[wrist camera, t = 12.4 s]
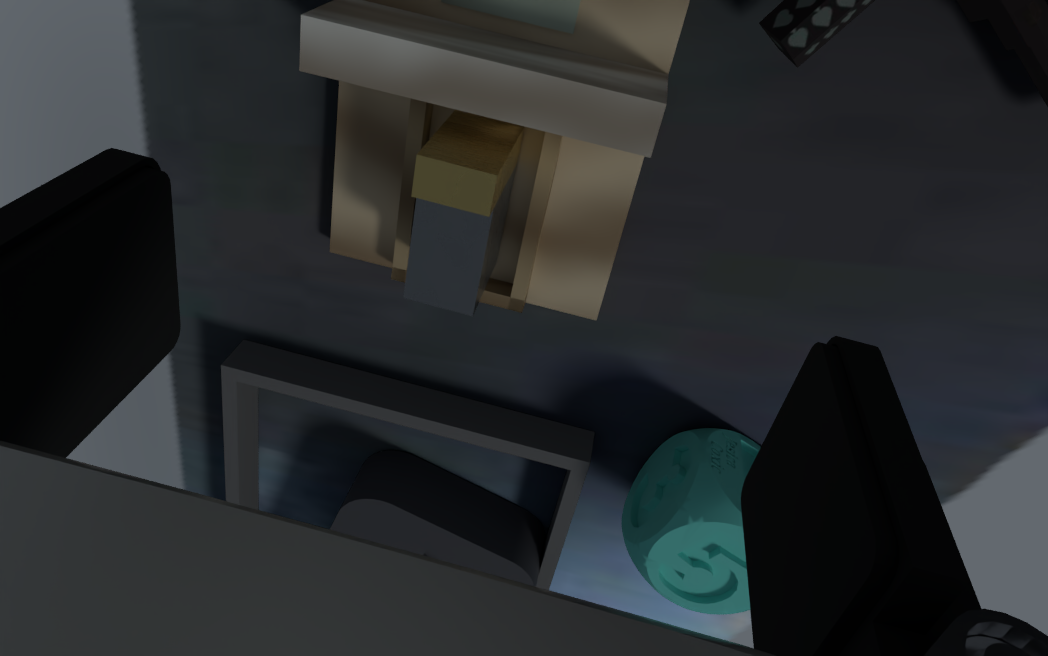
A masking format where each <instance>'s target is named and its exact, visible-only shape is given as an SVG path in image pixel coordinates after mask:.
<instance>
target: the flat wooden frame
mask: <svg viewBox="0 0 1048 656" xmlns="http://www.w3.org/2000/svg"><path fill="white" fill-rule="evenodd" d="M689 1H690V0H333V1H331V2H328V3H326V4H324V5H322V6H319V7H317V8H315V9H313V10H310V11H308V12H306V13H304V14H301V35H300V71H302V72H307V73H311V74H315V75H319V76H323V77H327V78H331V79H335V80H339V94H338V112H337V130H336V148H335V166H334V184H333V202H332V220H331V238H330V252H332V253H336V254H340V255H344V256H348V257H351V258H355V259H359V260H363V261H367V262H371V263H375V264H379V265H383V266H386V267H390V268H392V275H391V279H393V280H397V281H401V282H405V281H406V273H407V266H408V258H409V250H410V243H411V235H412V228H413V220H414V212H415V205H416V198H415V197H411V195H412V187H413V179H414V171H415V163H416V156H417V153H418V152H419V151H420V150H421V149H422V148H423V146H424V145H425V144H426V143H427V142H428V141H429V139H430V138H431V137H432V136H433V135H434V134H435V132H436V131H437V130H438V129H439V128H440V127H441V125H442V124H443V123H444V122H445V121H446V120H447V118H448V117H449V116H450V115H451V114H452V113H453V111H454V110H455V109H456V110H460V111H464V112H468V113H472V114H476V115H480V116H484V117H488V118H492V119H496V120H500V121H504V122H508V123H512V124H516V125H520V126H525V128H524V133H523V138H522V143H521V147H520V152H519V157H518V162H517V167H516V172H515V176H514V181H513V186H512V191H511V196H510V201H509V206H508V210H507V215H506V220H505V225H504V230H503V235H502V240H501V244H500V249H499V254H498V259H497V263H496V265H495V267H494V270H493V272H492V274H491V276H490V279H489V281H488V283H487V285H486V288H485V290H484V292H483V294H482V297H481V299H480V301H479V302H482V303H486V304H490V305H494V306H498V307H502V308H506V309H509V310H513V311H517V312H521V313H522V310H523V307H524V305H525V302H526V303H530V304H534V305H538V306H542V307H546V308H550V309H553V310H557V311H561V312H565V313H569V314H573V315H577V316H581V317H585V318H588V319H592V320H597V317H598V313H599V310H600V306H601V303H602V299H603V296H604V293H605V289H606V286H607V282H608V279H609V275H610V272H611V269H612V265H613V262H614V258H615V255H616V251H617V248H618V245H619V241H620V238H621V234H622V231H623V227H624V224H625V221H626V217H627V214H628V210H629V207H630V203H631V200H632V197H633V193H634V190H635V186H636V183H637V180H638V176H639V173H640V169H641V166H642V162H643V159H644V156H646V157H650V158H651V154H652V151H653V148H654V144H655V141H656V138H657V134H658V131H659V128H660V124H661V121H662V117H663V114H664V111H665V107H666V104H667V87H668V73H669V70H670V66H671V63H672V60H673V56H674V53H675V49H676V46H677V42H678V39H679V36H680V32H681V29H682V25H683V22H684V19H685V15H686V12H687V8H688V5H689Z"/></svg>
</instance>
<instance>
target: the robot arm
mask: <svg viewBox="0 0 1048 656" xmlns="http://www.w3.org/2000/svg"><path fill="white" fill-rule="evenodd" d="M179 334H180V311H179V297H178V282H177V268H176V254H175V239H174V225H173V211H172V197H171V184H170V179H169V177H168V175H167V174H166V173H165V172H163V171H161V170H160V167H159V165H158V163H157V162H156V161H155V160H154V159H153V158H149V157H145V156H142V155H138V154H134V153H130V152H126V151H122V150H118V149H113V148H111V149H107V150H105V151H103V152H101V153H99V154H98V155H96V156H94V157H92V158H90V159H89V160H87V161H85V162H83V163H81V164H80V165H78V166H76V167H74V168H72V169H70V170H69V171H67V172H65V173H63V174H61V175H60V176H58V177H56V178H54V179H52V180H51V181H49V182H47V183H45V184H43V185H41V186H40V187H38V188H36V189H34V190H32V191H31V192H29V193H27V194H25V195H24V196H22V197H20V198H18V199H16V200H14V201H12V202H11V203H9V204H7V205H5V206H3V207H2V208H0V656H1048V636H1047V635H1045V634H1044V633H1042V632H1041V631H1039V630H1037V629H1036V628H1034V627H1033V626H1031V625H1030V624H1028V623H1026V622H1024V621H1022V620H1020V619H1017V618H1015V617H1012V616H1010V615H1008V614H1006V613H1002V612H997V611H993V610H987V609H981V607H980V604H979V602H978V599H977V597H976V594H975V591H974V589H973V586H972V584H971V581H970V578H969V576H968V573H967V571H966V568H965V566H964V563H963V560H962V558H961V556H960V553H959V550H958V548H957V546H956V543H955V540H954V538H953V535H952V532H951V530H950V527H949V524H948V522H947V519H946V517H945V514H944V512H943V509H942V506H941V504H940V501H939V499H938V496H937V494H936V491H935V488H934V486H933V483H932V481H931V478H930V476H929V473H928V470H927V468H926V465H925V463H924V462H923V460H922V457H921V455H920V452H919V450H918V447H917V444H916V442H915V439H914V437H913V434H912V431H911V429H910V426H909V424H908V421H907V419H906V416H905V413H904V411H903V408H902V406H901V403H900V400H899V398H898V395H897V393H896V390H895V388H894V385H893V382H892V380H891V377H890V375H889V372H888V369H887V367H886V364H885V362H884V359H883V357H882V354H881V351H880V350H879V348H878V347H876V346H873V345H869V344H865V343H861V342H857V341H853V340H849V339H846V338H842V337H838V336H835V337H833V338H831V339H830V340H829V341H828V343H827V344H824V343H820V342H818V343H816V344H815V345H814V346H813V347H812V348H811V350H810V352H809V354H808V356H807V358H806V360H805V362H804V364H803V366H802V368H801V369H800V371H799V373H798V375H797V377H796V379H795V381H794V383H793V385H792V387H791V389H790V391H789V393H788V395H787V397H786V399H785V401H784V403H783V405H782V407H781V409H780V411H779V413H778V415H777V417H776V419H775V421H774V423H773V425H772V427H771V428H770V430H769V432H768V434H767V436H766V438H765V440H764V442H763V444H762V446H761V448H760V450H759V452H758V454H757V456H756V458H755V460H754V462H753V464H752V466H751V468H750V470H749V472H748V474H747V476H746V478H745V480H744V484H743V487H742V492H741V511H742V522H743V533H744V544H745V555H746V566H747V577H748V588H749V599H750V610H751V621H752V632H753V643H754V649H753V648H750V647H747V646H743V645H740V644H737V643H733V642H729V641H726V640H722V639H719V638H715V637H711V636H708V635H704V634H701V633H697V632H694V631H690V630H687V629H683V628H680V627H677V626H673V625H670V624H666V623H663V622H660V621H656V620H653V619H649V618H646V617H642V616H639V615H635V614H631V613H628V612H624V611H621V610H617V609H614V608H610V607H606V606H603V605H599V604H596V603H592V602H589V601H585V600H581V599H578V598H574V597H571V596H567V595H564V594H560V593H556V592H553V591H549V590H546V589H542V588H539V587H535V586H531V585H528V584H524V583H521V582H517V581H514V580H510V579H506V578H503V577H499V576H496V575H492V574H489V573H485V572H481V571H478V570H474V569H471V568H467V567H464V566H460V565H456V564H453V563H449V562H446V561H442V560H438V559H435V558H431V557H428V556H424V555H420V554H417V553H413V552H409V551H406V550H402V549H399V548H395V547H391V546H388V545H384V544H380V543H377V542H373V541H369V540H366V539H362V538H359V537H355V536H351V535H348V534H344V533H340V532H337V531H333V530H329V529H326V528H322V527H319V526H315V525H311V524H308V523H304V522H300V521H297V520H293V519H289V518H286V517H282V516H278V515H275V514H271V513H267V512H264V511H260V510H256V509H253V508H249V507H245V506H242V505H238V504H234V503H231V502H227V501H223V500H220V499H216V498H212V497H209V496H205V495H201V494H198V493H194V492H190V491H186V490H183V489H178V488H175V487H172V486H167V485H164V484H160V483H157V482H153V481H149V480H145V479H142V478H138V477H134V476H131V475H127V474H122V473H119V472H115V471H112V470H108V469H104V468H100V467H97V466H93V465H89V464H86V463H81V462H78V461H74V460H71V459H67V458H66V457H67V456H68V455H69V454H70V453H71V452H72V451H73V450H74V449H75V448H76V447H77V446H78V445H79V444H80V443H81V442H82V441H83V440H84V439H85V438H86V437H87V436H88V435H89V434H90V433H91V432H92V430H94V429H95V428H96V427H97V425H99V424H100V422H101V421H102V420H103V419H104V418H105V417H106V416H107V415H108V414H109V413H110V412H111V411H112V410H113V409H114V408H115V407H116V406H117V405H118V404H119V403H120V402H121V401H122V400H123V399H124V398H125V397H126V396H127V395H128V394H129V393H130V392H131V391H132V390H133V389H134V388H135V387H136V386H137V385H138V384H139V383H140V382H141V381H142V380H143V379H144V378H145V377H146V376H147V375H148V374H149V373H150V372H151V371H152V370H153V369H154V368H155V367H156V365H157V364H158V363H159V362H160V361H161V360H162V359H163V358H164V357H165V356H166V355H167V354H168V353H169V352H170V351H171V350H172V349H173V348H174V346H175V344H176V342H177V340H178V337H179Z"/></svg>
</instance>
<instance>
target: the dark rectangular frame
mask: <svg viewBox="0 0 1048 656" xmlns="http://www.w3.org/2000/svg"><path fill="white" fill-rule="evenodd" d="M221 381H222V408H223V434H224V461H225V488H226V501H227V502H231V503H234V504H238V505H242V506H245V507H249V508H253V509H256V510H259V505H258V387H260V388H263V389H267V390H271V391H275V392H278V393H282V394H286V395H290V396H293V397H297V398H301V399H305V400H308V401H312V402H316V403H320V404H324V405H327V406H331V407H335V408H339V409H342V410H346V411H350V412H354V413H357V414H361V415H365V416H369V417H372V418H376V419H380V420H384V421H387V422H391V423H395V424H399V425H402V426H406V427H410V428H414V429H418V430H421V431H425V432H429V433H433V434H436V435H440V436H444V437H448V438H451V439H455V440H459V441H463V442H466V443H470V444H474V445H478V446H481V447H485V448H489V449H493V450H496V451H500V452H504V453H508V454H511V455H515V456H519V457H523V458H527V459H530V460H534V461H538V462H542V463H545V464H549V465H553V466H557V467H560V468H564V469H567V472H566V475H565V478H564V482H563V485H562V488H561V491H560V495H559V498H558V501H557V504H556V508H555V511H554V514H553V518H552V521H551V524H550V527H549V531H548V534H547V537H546V540H545V545H544V550H543V555H542V560H541V565H540V570H539V575H538V581H537V586H536V587H539V588H542V589H546V590H549V587H550V584H551V581H552V578H553V575H554V572H555V569H556V566H557V563H558V560H559V557H560V554H561V551H562V548H563V545H564V542H565V539H566V536H567V532H568V529H569V526H570V523H571V520H572V517H573V514H574V511H575V508H576V505H577V502H578V499H579V496H580V493H581V490H582V487H583V484H584V481H585V477H586V474H587V471H588V468H589V465H590V461H591V454H592V448H593V441H594V434H595V432H593V431H589V430H585V429H581V428H578V427H574V426H570V425H566V424H562V423H559V422H555V421H551V420H547V419H543V418H540V417H536V416H532V415H528V414H524V413H521V412H517V411H513V410H509V409H505V408H502V407H498V406H494V405H490V404H486V403H483V402H479V401H475V400H471V399H468V398H464V397H460V396H456V395H452V394H449V393H445V392H441V391H437V390H433V389H430V388H426V387H422V386H418V385H414V384H411V383H407V382H403V381H399V380H395V379H392V378H388V377H384V376H380V375H376V374H373V373H369V372H365V371H361V370H357V369H354V368H350V367H346V366H342V365H339V364H335V363H331V362H327V361H323V360H320V359H316V358H312V357H308V356H304V355H301V354H297V353H293V352H289V351H285V350H282V349H278V348H274V347H270V346H266V345H263V344H259V343H255V342H251V341H247V340H244V339H243V341H242V342H241V343H240V344H239V345H238V346H237V347H236V349H235V350H234V351H233V352H232V353H231V354H230V355H229V356H228V358H227V359H226V360H225V361H224V362H223V363H222V364H221Z"/></svg>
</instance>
